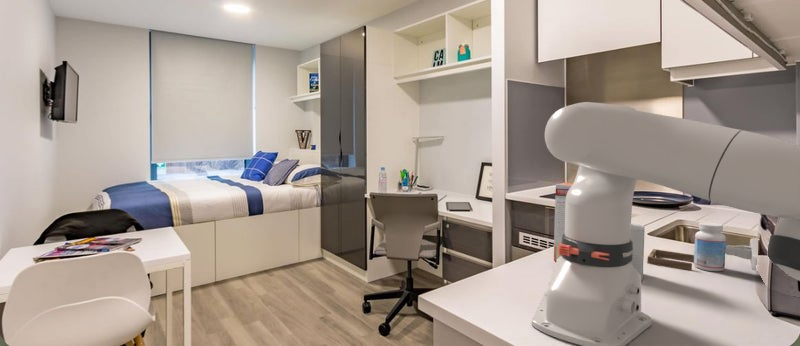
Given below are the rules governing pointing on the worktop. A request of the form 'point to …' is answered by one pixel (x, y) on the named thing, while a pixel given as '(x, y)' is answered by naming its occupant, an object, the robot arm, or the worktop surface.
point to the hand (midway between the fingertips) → (725, 249)
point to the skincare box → (637, 247)
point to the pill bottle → (710, 247)
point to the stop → (670, 262)
